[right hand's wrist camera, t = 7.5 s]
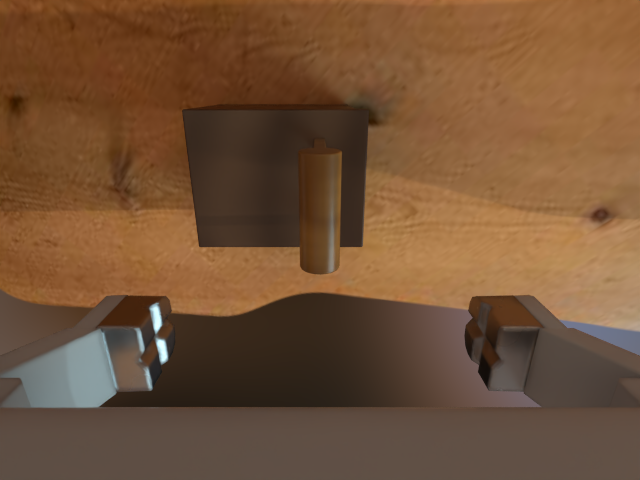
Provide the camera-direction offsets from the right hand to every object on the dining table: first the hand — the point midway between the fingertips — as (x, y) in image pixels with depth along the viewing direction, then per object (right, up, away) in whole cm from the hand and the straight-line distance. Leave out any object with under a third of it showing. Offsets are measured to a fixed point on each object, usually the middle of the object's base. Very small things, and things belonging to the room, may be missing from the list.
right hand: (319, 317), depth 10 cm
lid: (-3, +6, +16) cm, 18 cm away
